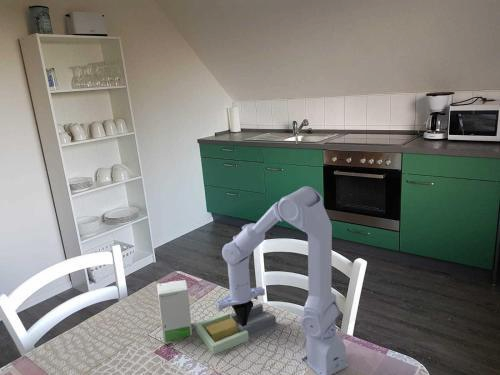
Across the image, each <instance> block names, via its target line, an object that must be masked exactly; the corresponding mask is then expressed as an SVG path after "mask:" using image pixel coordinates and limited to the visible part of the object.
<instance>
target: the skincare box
mask: <svg viewBox="0 0 500 375" xmlns="http://www.w3.org/2000/svg"><path fill="white" fill-rule="evenodd" d="M156 290H157V299H158V307H159V316H160V323H161V324H160V325H161V333H162V339H163V345H169V344H172V343H173V342H172V341H173V340H178V339H182V338H186V337H189V336H190V337H191V336H193V330H192V329H193V328H192V327H193V326H192V319H191V311H190V310H191V308H190V299H189V289H188V284H187V280H186V279H184V280H175V281H168V282H164V283H157V284H156Z"/></svg>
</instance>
